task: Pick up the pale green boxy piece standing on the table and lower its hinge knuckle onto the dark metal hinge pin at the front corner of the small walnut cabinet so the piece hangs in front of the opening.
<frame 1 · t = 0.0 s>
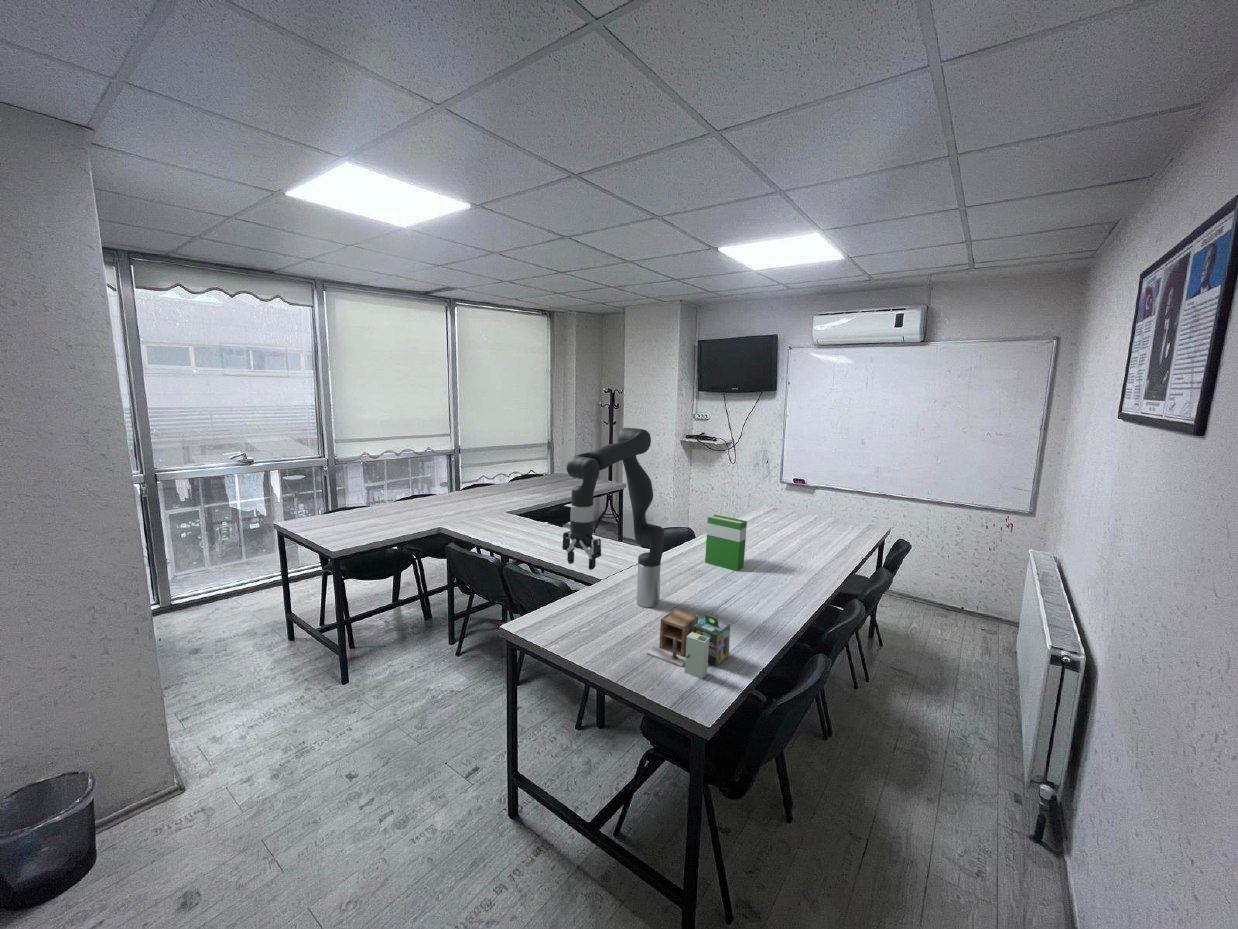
hand: (581, 566, 162), 29 cm above the table, fingers open, 8 cm apart
chalk box: (710, 657, 165), on the table
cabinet: (677, 647, 170), on the table
pale green boxy piece: (695, 672, 155), on the table
hardback book: (724, 565, 250), on the table
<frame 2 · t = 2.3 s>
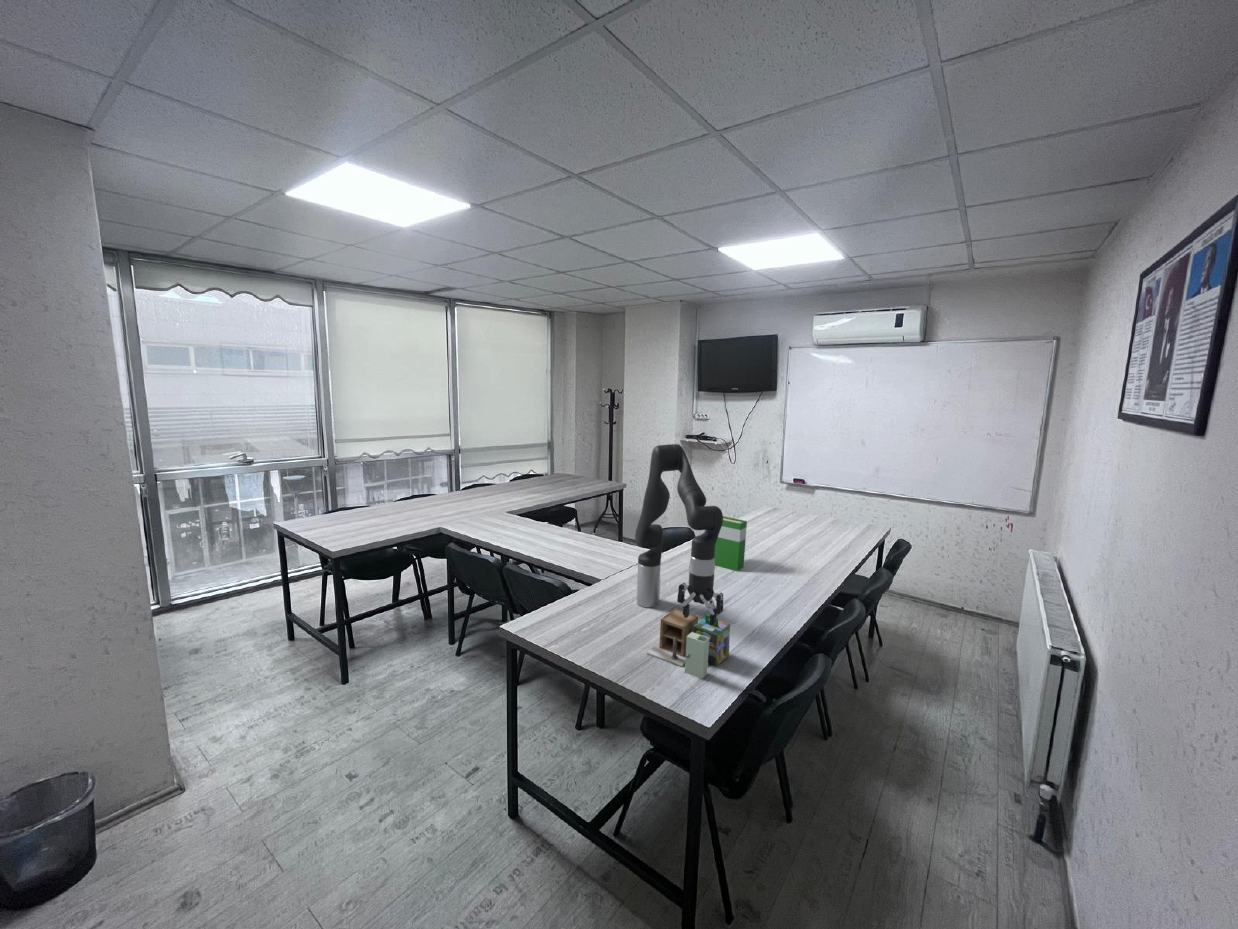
hand: (698, 620, 152), 17 cm above the table, fingers open, 8 cm apart
nothing on the table moved.
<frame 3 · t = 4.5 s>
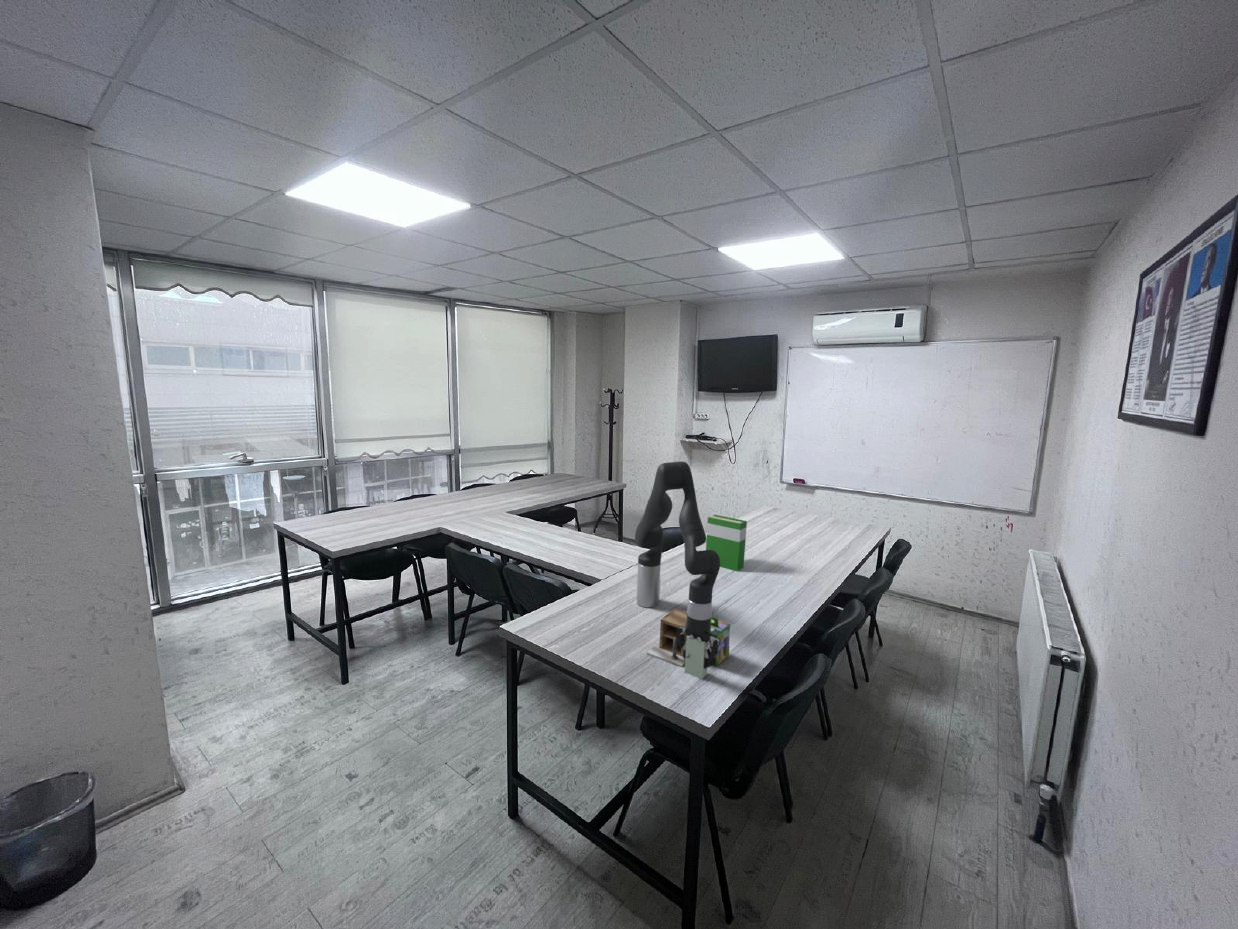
hand: (696, 663, 155), 3 cm above the table, fingers closed on pale green boxy piece, 6 cm apart
pale green boxy piece: (695, 672, 155), on the table, touching gripper
everything else where it was.
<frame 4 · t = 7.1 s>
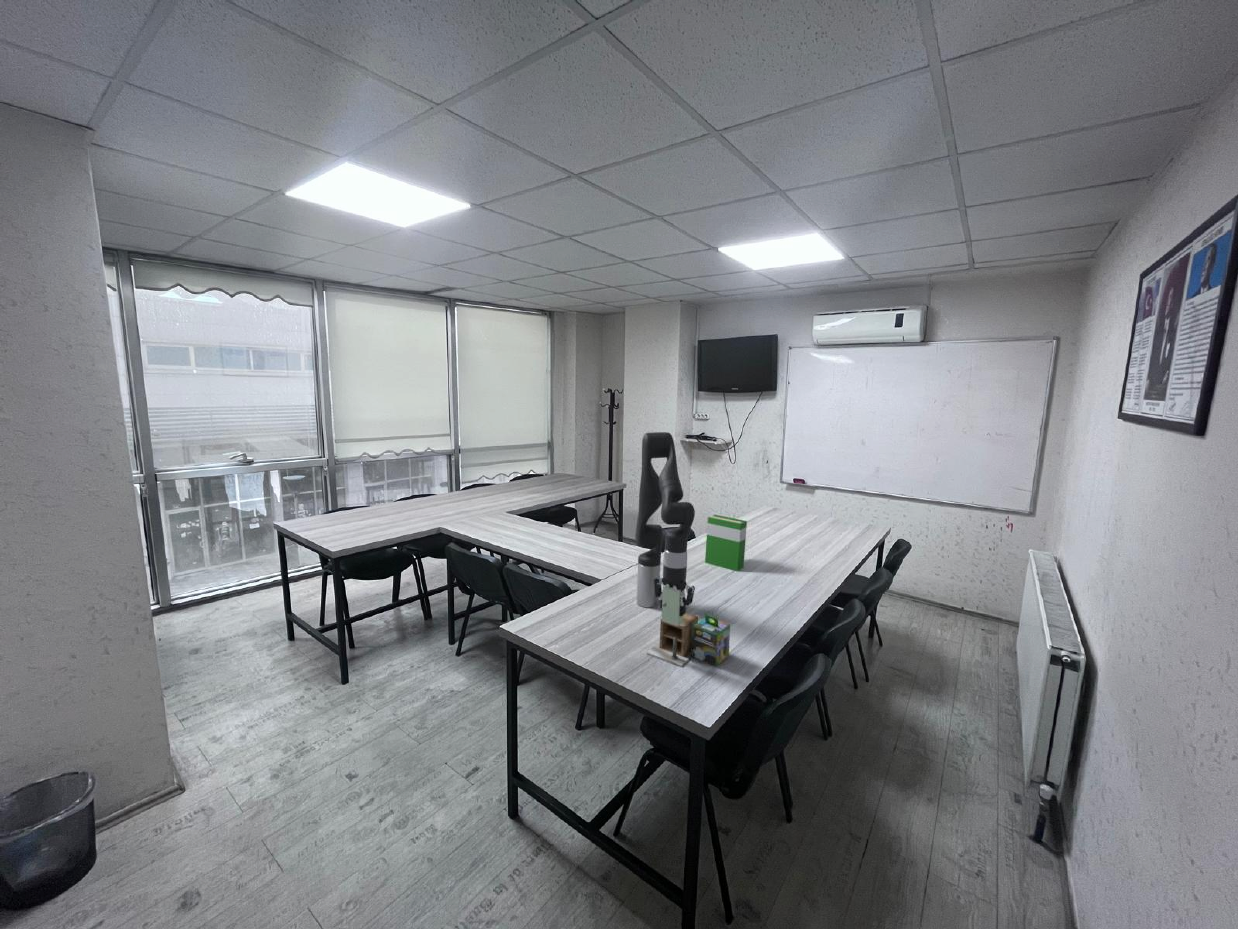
hand: (672, 612, 161), 16 cm above the table, fingers closed on pale green boxy piece, 6 cm apart
pale green boxy piece: (672, 621, 161), point 13 cm above the table, touching gripper
everything else where it was.
when the fingers open (4 cm above the table, at t = 9.8 s): pale green boxy piece stays where it is, resting on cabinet.
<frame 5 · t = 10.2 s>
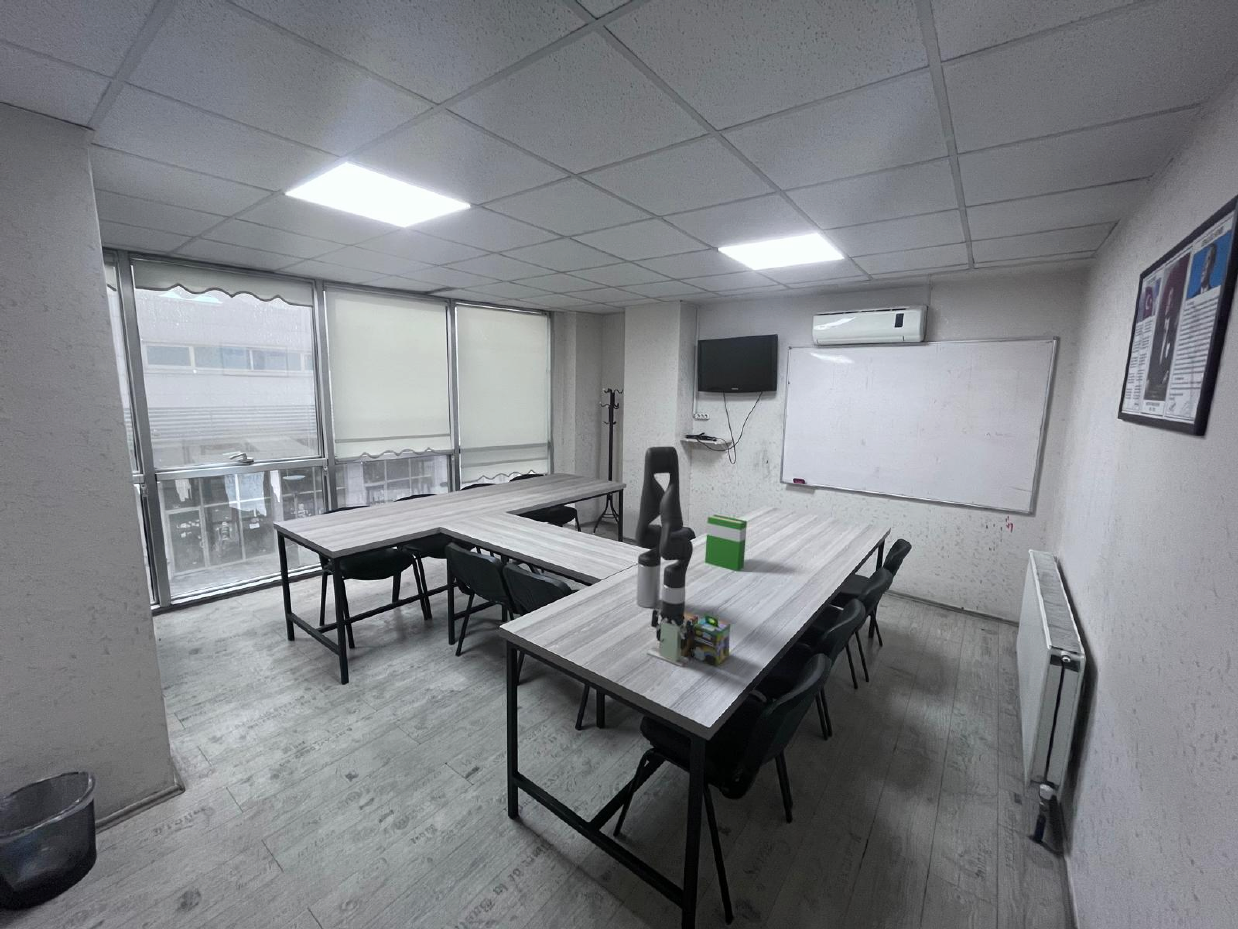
hand: (671, 644, 162), 5 cm above the table, fingers open, 8 cm apart
pale green boxy piece: (670, 656, 163), point 1 cm above the table, touching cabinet
everything else where it was.
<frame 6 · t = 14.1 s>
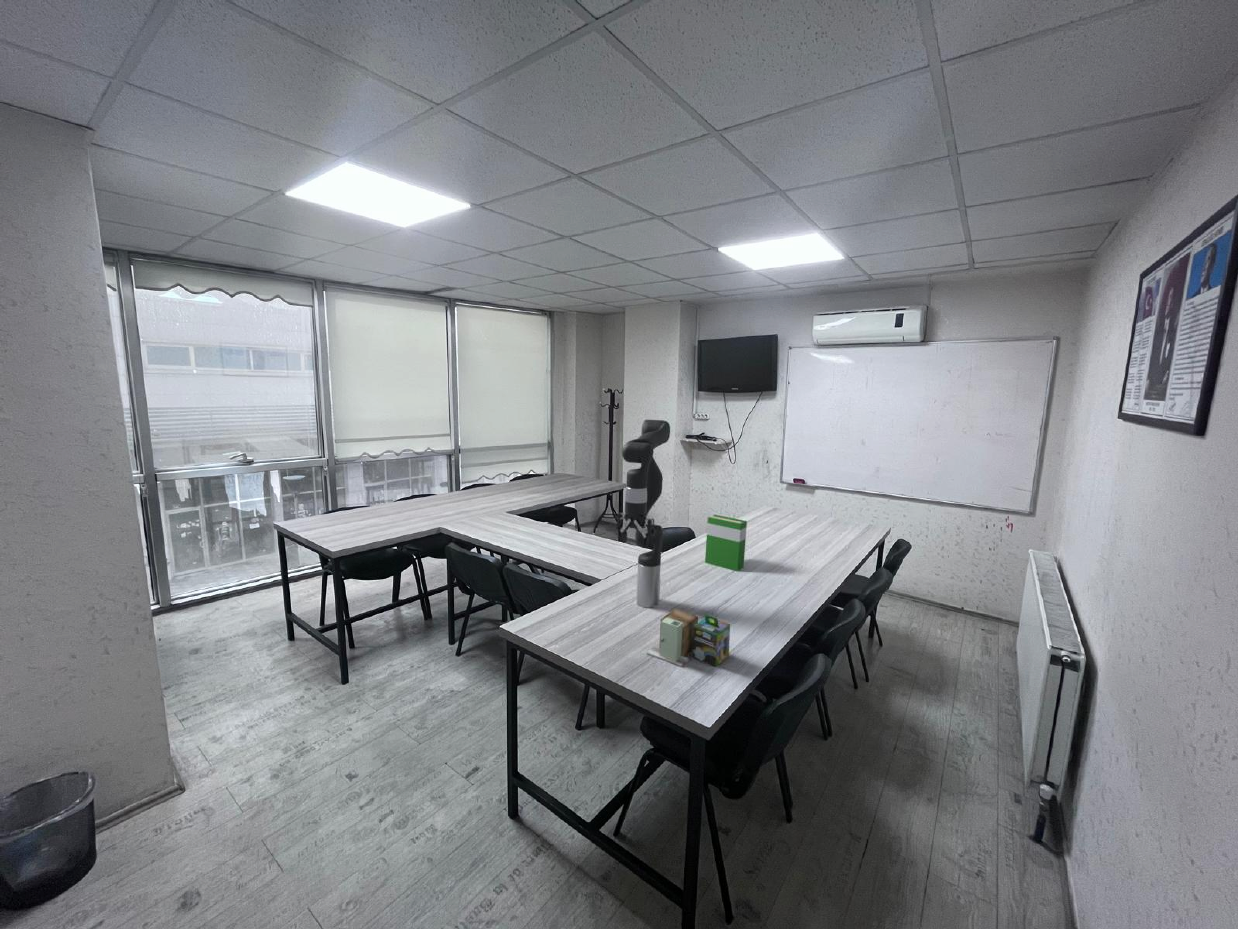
hand: (634, 544, 174), 33 cm above the table, fingers open, 8 cm apart
nothing on the table moved.
at the end: pale green boxy piece 0.1 cm from the target spot on the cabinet, point 0.6 cm above the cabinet's base; pale green boxy piece tilted 0°; the gripper is holding nothing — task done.
